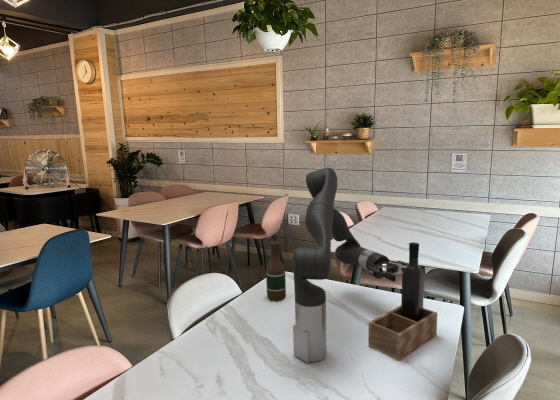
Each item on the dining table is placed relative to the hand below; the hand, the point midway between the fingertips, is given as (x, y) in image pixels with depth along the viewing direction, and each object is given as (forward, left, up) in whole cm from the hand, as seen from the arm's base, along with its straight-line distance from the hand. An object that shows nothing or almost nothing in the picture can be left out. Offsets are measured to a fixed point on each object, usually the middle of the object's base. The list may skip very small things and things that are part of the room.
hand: (405, 276), depth 126 cm
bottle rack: (-6, -4, -19) cm, 20 cm away
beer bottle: (-15, +50, -19) cm, 55 cm away
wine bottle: (-1, -3, -18) cm, 19 cm away
